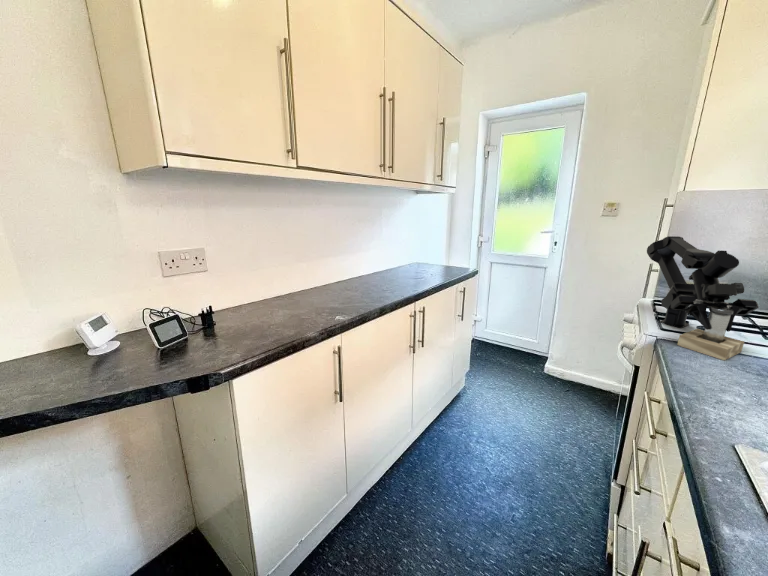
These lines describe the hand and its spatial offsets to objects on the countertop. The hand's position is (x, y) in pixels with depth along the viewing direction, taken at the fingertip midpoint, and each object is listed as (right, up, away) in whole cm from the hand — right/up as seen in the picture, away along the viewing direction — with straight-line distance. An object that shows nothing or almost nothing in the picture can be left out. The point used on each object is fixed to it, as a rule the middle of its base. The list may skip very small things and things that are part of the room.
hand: (718, 330), depth 94 cm
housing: (0, -6, +3) cm, 7 cm away
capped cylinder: (+1, -6, +3) cm, 7 cm away
